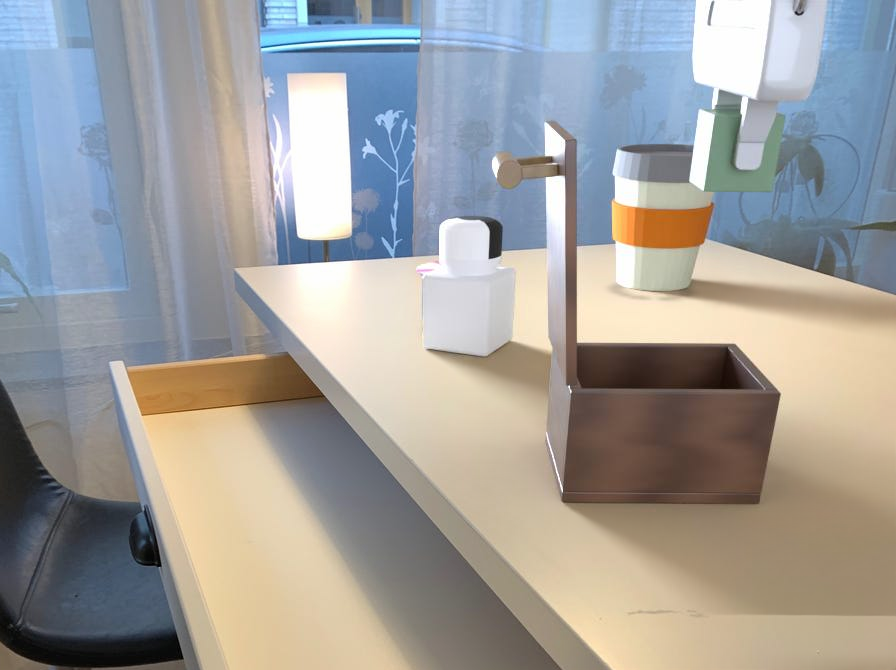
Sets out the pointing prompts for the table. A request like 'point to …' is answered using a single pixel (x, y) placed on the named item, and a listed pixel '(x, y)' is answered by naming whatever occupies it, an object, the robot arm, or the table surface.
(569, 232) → the lid
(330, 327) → the table surface
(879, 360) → the table surface
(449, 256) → the medicine bottle
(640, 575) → the table surface
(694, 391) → the box
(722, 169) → the block
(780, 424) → the table surface
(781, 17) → the robot arm
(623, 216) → the reusable coffee cup
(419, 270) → the cd
